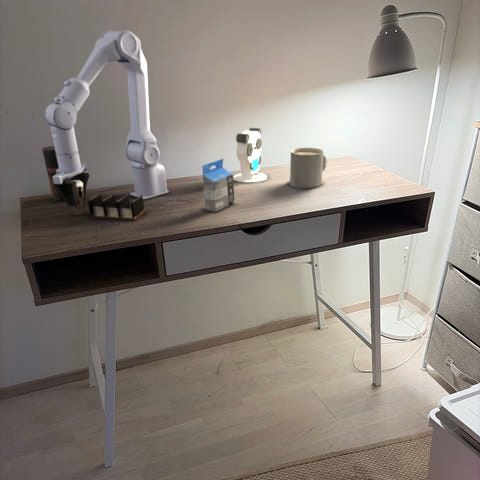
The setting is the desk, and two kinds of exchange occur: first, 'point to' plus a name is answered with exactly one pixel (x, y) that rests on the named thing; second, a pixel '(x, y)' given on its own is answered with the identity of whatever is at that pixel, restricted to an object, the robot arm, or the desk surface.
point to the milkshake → (79, 199)
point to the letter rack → (116, 208)
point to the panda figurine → (249, 156)
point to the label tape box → (217, 186)
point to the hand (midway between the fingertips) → (77, 202)
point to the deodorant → (52, 171)
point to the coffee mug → (307, 167)
